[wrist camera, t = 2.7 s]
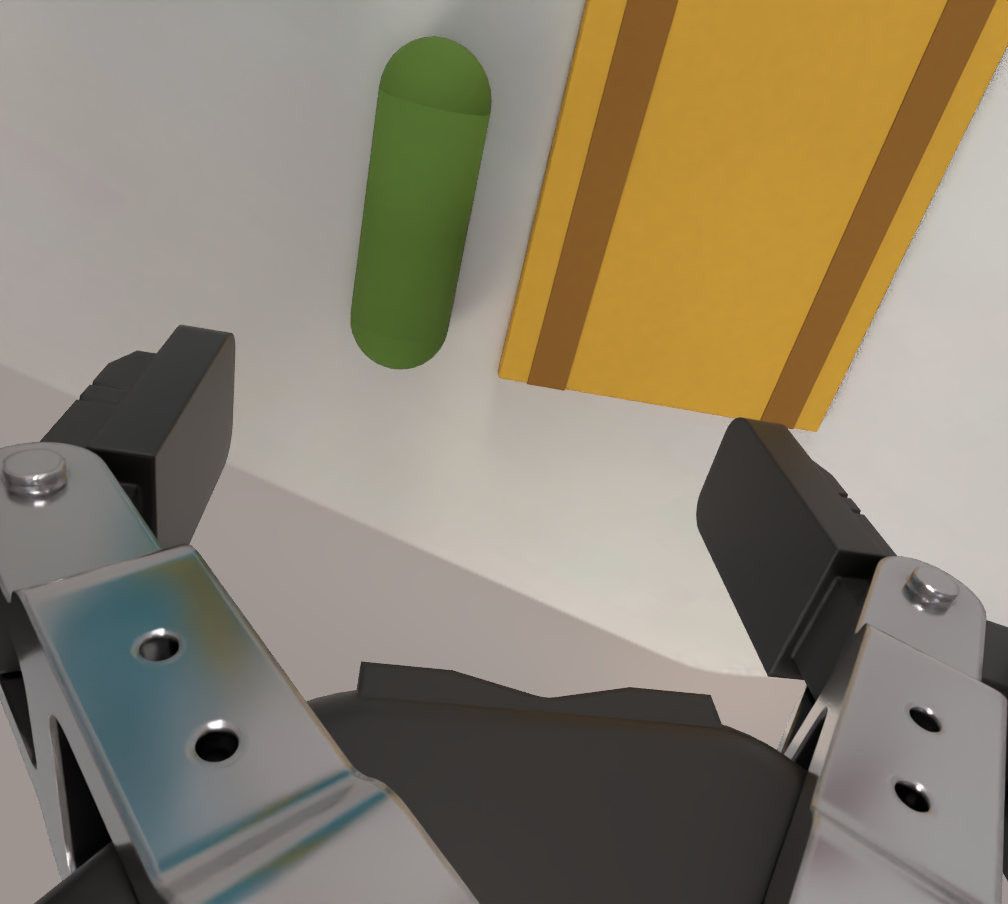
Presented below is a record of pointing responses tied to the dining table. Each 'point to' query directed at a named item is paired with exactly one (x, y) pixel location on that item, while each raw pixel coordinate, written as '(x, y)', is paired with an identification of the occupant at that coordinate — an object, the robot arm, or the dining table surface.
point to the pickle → (418, 199)
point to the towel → (739, 194)
